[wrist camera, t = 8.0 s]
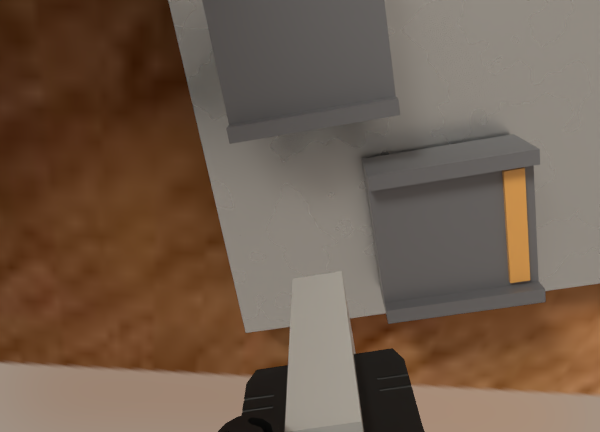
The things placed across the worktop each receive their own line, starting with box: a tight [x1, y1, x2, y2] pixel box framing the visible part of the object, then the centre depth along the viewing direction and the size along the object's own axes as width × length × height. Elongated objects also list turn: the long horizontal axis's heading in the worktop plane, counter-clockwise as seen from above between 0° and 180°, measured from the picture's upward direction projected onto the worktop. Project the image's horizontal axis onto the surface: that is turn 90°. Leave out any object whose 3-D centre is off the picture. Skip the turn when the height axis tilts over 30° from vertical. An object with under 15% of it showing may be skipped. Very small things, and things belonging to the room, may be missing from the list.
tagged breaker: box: [362, 134, 546, 324], centre depth 24 cm, size 6×6×3 cm
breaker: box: [202, 0, 400, 144], centre depth 21 cm, size 6×6×3 cm
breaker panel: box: [168, 0, 600, 333], centre depth 24 cm, size 25×17×3 cm
